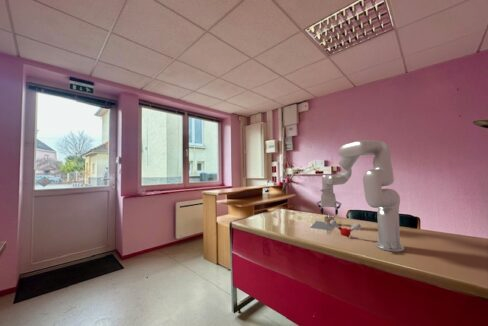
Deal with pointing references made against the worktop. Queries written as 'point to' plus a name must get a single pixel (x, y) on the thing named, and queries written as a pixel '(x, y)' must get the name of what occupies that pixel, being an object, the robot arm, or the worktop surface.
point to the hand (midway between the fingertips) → (329, 214)
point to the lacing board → (322, 226)
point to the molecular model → (344, 230)
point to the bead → (328, 220)
